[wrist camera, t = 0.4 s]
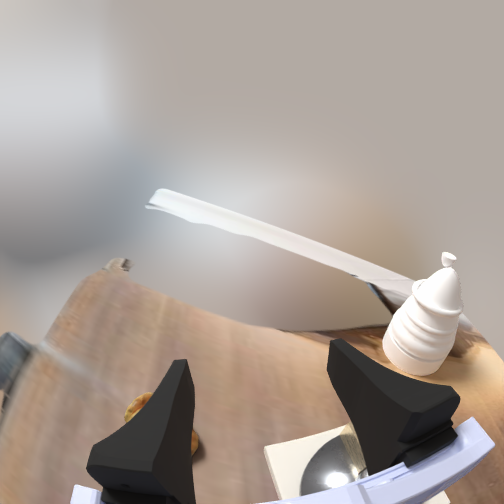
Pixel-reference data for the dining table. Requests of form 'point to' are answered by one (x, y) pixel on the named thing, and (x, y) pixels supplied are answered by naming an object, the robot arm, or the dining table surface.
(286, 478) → the base
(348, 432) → the handwheel
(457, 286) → the honey pot
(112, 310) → the dining table surface
